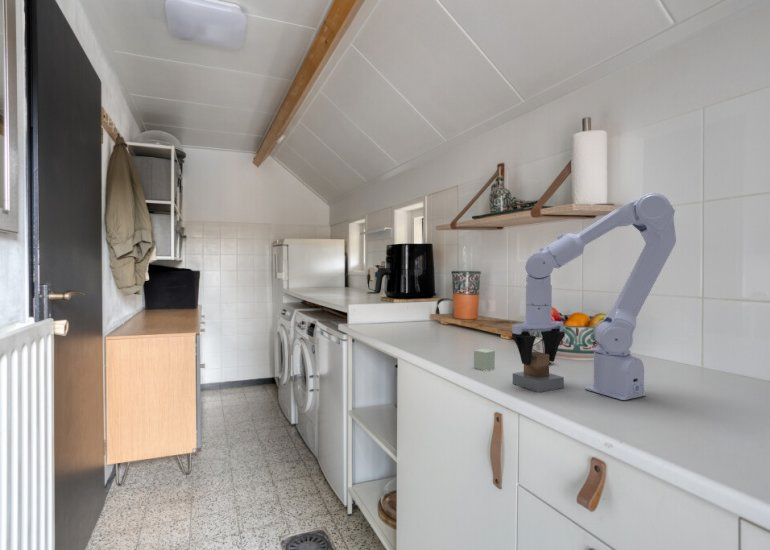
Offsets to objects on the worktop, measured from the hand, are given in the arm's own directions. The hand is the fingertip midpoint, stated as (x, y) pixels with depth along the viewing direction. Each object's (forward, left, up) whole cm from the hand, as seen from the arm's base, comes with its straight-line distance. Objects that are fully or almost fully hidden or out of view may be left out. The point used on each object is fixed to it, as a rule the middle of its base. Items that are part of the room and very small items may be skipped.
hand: (538, 362), depth 100 cm
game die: (+17, -19, -6) cm, 26 cm away
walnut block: (+1, 0, -3) cm, 3 cm away
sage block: (+19, 0, -6) cm, 20 cm away
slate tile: (0, 0, -6) cm, 6 cm away
